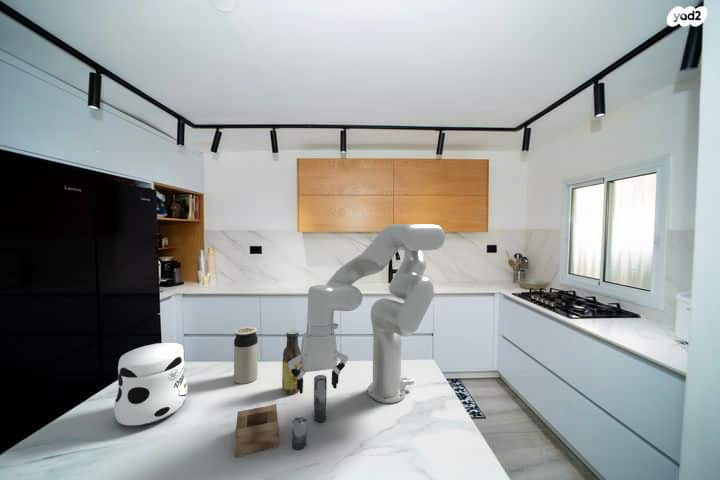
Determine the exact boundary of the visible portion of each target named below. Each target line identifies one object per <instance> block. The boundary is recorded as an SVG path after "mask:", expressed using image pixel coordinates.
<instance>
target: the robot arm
mask: <svg viewBox="0 0 720 480" xmlns="http://www.w3.org/2000/svg"><path fill="white" fill-rule="evenodd" d="M445 234H446V233H445V232H444V230H443V227H441V226H440V225H437V224H416V223H415V224H413V223H403V224H402V223H399V224H398V223H397V224H395V223H393V224H389V225H387V226H384V227H383V229H382V230H380V231H379V233H378V234H377V236H376V237H374V239H373V240H372V241H371V242H370V243H369V245H368V246H367V247H366V248H365V250H364V251H362V253H360V254H359V255H358V256H355V257H354V258H352V259H351V260H349V261H348V262H347V263H345V264H344V265H342V266H341V267H339V269H338V270H336V272H335V273H333V275H332V276H331V277H330V278H329V280H328V281H327V282H326V284H314V285H311V286H310V287H309V288H308V293H307V311H306V312H307V316H306V319H307V320H306V331H305V332H303V336H302V339H301V344H300V345H301V346H300V352H301V353H300V355H299V356H297V357H295V358H294V359H292V360H290V361H289V362H288V367H289V369H290V370H291V372H292V374H293V375H294V376H295V377H297V389H299V391H298V392H299V394H303V392H304V378H303V377H304V376H305V374H306V373H309V372H310V373H311V372H317V371H318V372H320V371H326V370H332V372H331V386H332V387H333V389H337V387H338V386H337V385H338V384H339V375H340V374H341V371H342V370H343V369H345V366H346V364H347V362H348V360H349V356H348V355H347V354H344V353H342V352H339V351H338V347H337V346H338V345H337V338H336V332H335V330H336V329H339V324H338V323H336V322H335V323H334V319H335V318H334V317H335V315H334V314H335V311H337V312H338V311H340V312H351V311H354V310H357V309H358V308H359V307H360V306H361V304H362V302H363V294H362V291H361V290H360V289H359V288H358V287H357V286H354V285H353V284H354V283H356V282H357V281H359V280H360V279H362V278H365V277H369V276H372V275H375V274H378V273H380V272H382V271H383V270H384V269H385V268H386V267H387V265H388V264H389V262H390V261H391V260H392V259H393V258H394V256H395V255H396V254H397V253H398V251H403V252H404V253H403V259H402V261H401V263H400V265H399V267H398V269H397V271H396V272H395V274H394V275H393V278H392V279H391V281H390V283H389V285H388V290H389V291H388V292H389V293H390V295H391V296H392V297H393V298H395V299H398V300H399V301H397V300H395V299H390V298H386V297H385V298H379V299H377V300H376V301H375V302H374V303H372V306H371V308H370V321H371V322H370V323H371V326H372V327H371V328H372V382H371V383H369V385H368V387H367V393H368V396H369V397H370V398H371V399H373V400H374V401H377V402H379V403H383V404H394V403H397V402H400V401H402V400H403V399H404V398H405V397H406V389H405V388H406V387H407V386H412V385H415V382H414V378H407V376H405V375H404V376H402V337H410V336H412V335H413V334H415V333H416V331H417V330H418V329H419V326H420V325H421V323H422V321H423V319H424V317H425V315H426V313H427V311H428V308H429V307H430V305H431V303H432V301H433V298H434V293H435V291H434V290H435V289H434V285H433V282H432V280H431V279H430V278H428V277H426V276H425V275H424V273H425V270H426V268H427V260H426V256H425V253H424V252H425V251H436V250H438V249H440V248H441V247H442V246H443V244H444V243H445V240H446V235H445ZM400 300H401V301H403V303H402V302H400ZM338 359H340V362H339V363H338ZM298 362H300V365H301V367H300V368H299V369H298V370H297V369H296V368H295V367H294V365H295V364H297V363H298Z"/></svg>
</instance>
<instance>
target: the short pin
mask: <svg viewBox="0 0 720 480" xmlns="http://www.w3.org/2000/svg"><path fill="white" fill-rule="evenodd" d="M291 422H292V423H291V424H292V425H291V448H292V449H293V451H294V450H295V451H302V450H304V449H305V448H306V447H307V443H308V442H307V439H308V437H307V436H308V435H307V434H308V433H307V431H308V429H307V428H308V426H307V425H308V423H307V422H308V421H307V418H306V417H304V416H298V417H295V418H293V419H292V421H291Z"/></svg>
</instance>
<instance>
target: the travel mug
mask: <svg viewBox="0 0 720 480" xmlns="http://www.w3.org/2000/svg"><path fill="white" fill-rule="evenodd" d="M257 331H258V330H257V328H256V327H254V326H244V327H239V328H238V329H235V330H234V333H235V337H234V340H233V381H234V382H235V383H237V384H242V385H243V384H248V383H252V382H253V381H255V380H256V379H257V378H258V357H259V356H258V354H259V353H258V351H259V350H258V349H259V348H258V345H259V344H258V335H257V334H256V333H257Z"/></svg>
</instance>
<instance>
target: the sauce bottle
mask: <svg viewBox="0 0 720 480" xmlns="http://www.w3.org/2000/svg"><path fill="white" fill-rule="evenodd" d="M285 336H286V345H285V348H284V350H283V352H282V366H281V367H282V369H281V370H282V373H281V375H282V377H281V379H282V380H281V387H282V392H283V393H284V394H286V395H293V394H297V393H298V392H299V389H297V377H295V376H294V375H293V374H292V372H291V370H290V369H289V367H288V362H289V361H290V360H292V359H294V358H295V357H297V356H299V355H300V353H301V348H300V347H299V336H300V335H299V331H298V330H295V329H294V330H293V329H292V330H289V331H286V335H285ZM294 367H295V368H296V369H297V370H298V369H299V368H300V367H301V365H300V362H298V363H297V364H295V365H294Z"/></svg>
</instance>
